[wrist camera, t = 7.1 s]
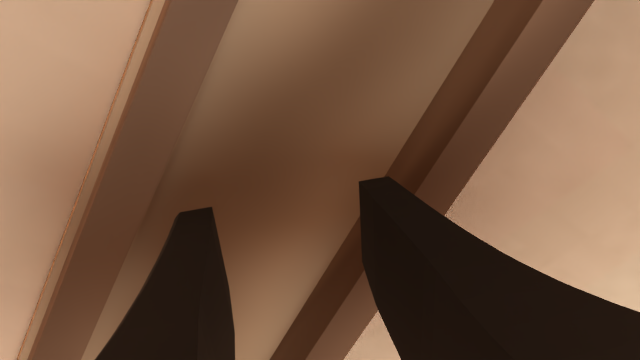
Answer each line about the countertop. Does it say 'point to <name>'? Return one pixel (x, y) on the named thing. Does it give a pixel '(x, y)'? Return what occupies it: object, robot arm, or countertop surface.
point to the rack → (286, 153)
